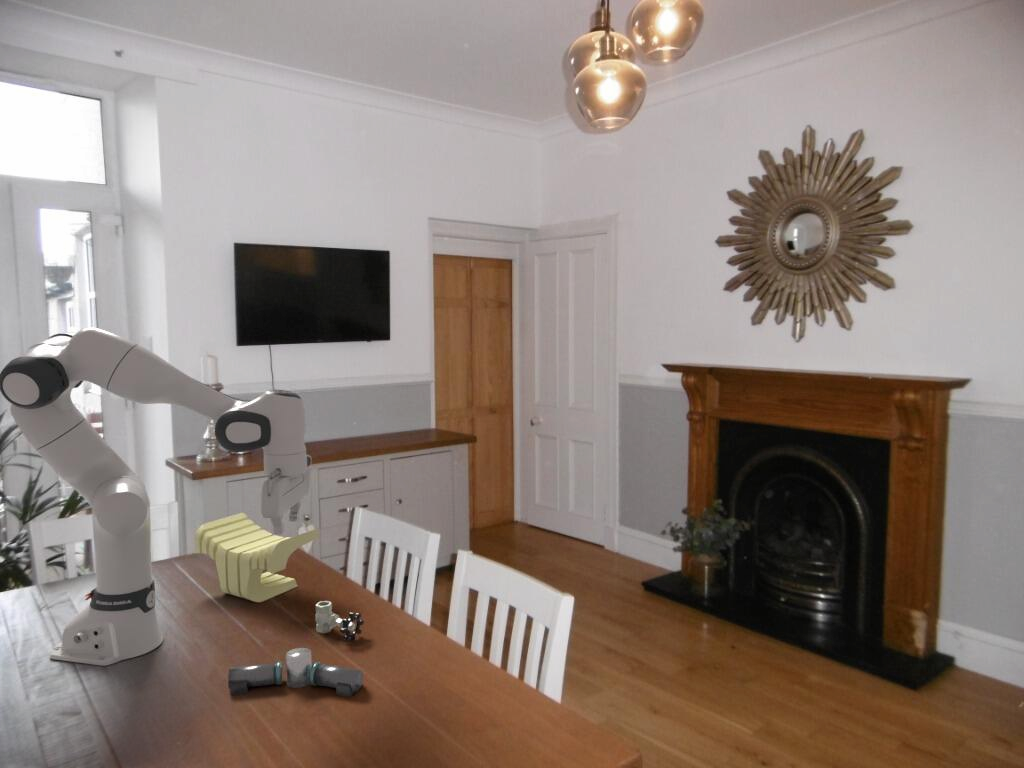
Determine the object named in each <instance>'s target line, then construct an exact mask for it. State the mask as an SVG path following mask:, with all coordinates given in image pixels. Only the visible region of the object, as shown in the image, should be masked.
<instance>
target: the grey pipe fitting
mask: <svg viewBox="0 0 1024 768" xmlns="http://www.w3.org/2000/svg"><path fill="white" fill-rule="evenodd" d="M283 671H284V667H283V661H276V662H275V663H274V662H273V663H265V664H264V663H263V664H262V663H261V664H255V665H245V666H234V667H229V669H228V674H227V675H228V677H227V685H228V686H227V687H228V690H230V695H231V696H234V695H242V694H244V695H245V694H248V690H249V688H251V687H261V686H269V685H270V686H271V685H276V686H278V685H283V679H284V677H283V673H284V672H283Z"/></svg>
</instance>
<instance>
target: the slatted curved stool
mask: <svg viewBox="0 0 1024 768" xmlns="http://www.w3.org/2000/svg"><path fill="white" fill-rule="evenodd" d="M318 539H319V528H315V529H311V530H309V531H306V532H304V533H301V534H297V535H295V536H290V537H289V536H288V537H287V536H286V537H285V536H279V535H278V534H274V533H271V532H269V531H268V530H265V529H262V527H260V526H259V525H258V524H255V522H254V521H253V520H251V519H250V518H249V519H248V516H247V515H246V514H245V513H244V512H239V513H237V514H232V515H230V516H225V517H223V518H218V519H216V520H212V521H209V522H205V523H203V524H202V525H200V526H199V527H198V529H196V532H195V536H194V551H195V554H203V555H204V554H205V555H208V557H210V558H211V559H212V561H215V568H216V570H217V574H218V579H219V587H220V590H221V592H223V593H225V594H229V595H230V596H231V595H232V596H233V597H234V596H235V597H239V598H241V599H244V600H248V601H252V602H254V603H262V602H264V601H265V602H266V601H267V600H269V599H271V598H274V597H276V596H278V595H280V594H281V595H282V594H283V593H285V592H288V591H290V590H292V589H295V588H298V583H297V581H296V578H294V577H293V578H292V577H286V575H282V574H277V573H278V572H280V571H283V570H285V569H287V563H288V560H289V558H290V556H291V555H292V554H293V553H294V552H295V551H297V550H298V549H299V548H301V547H302V546H304V545H306V544H309V543H311V542H313V541H316V540H318ZM264 570H266V572H264ZM263 572H264V573H263ZM275 573H276V574H275Z"/></svg>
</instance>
